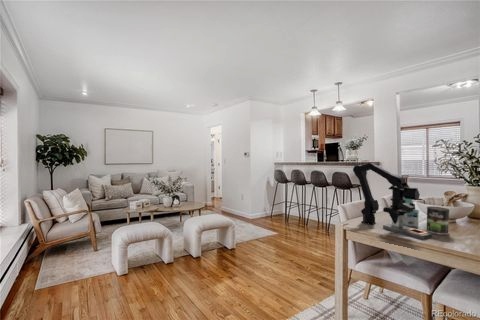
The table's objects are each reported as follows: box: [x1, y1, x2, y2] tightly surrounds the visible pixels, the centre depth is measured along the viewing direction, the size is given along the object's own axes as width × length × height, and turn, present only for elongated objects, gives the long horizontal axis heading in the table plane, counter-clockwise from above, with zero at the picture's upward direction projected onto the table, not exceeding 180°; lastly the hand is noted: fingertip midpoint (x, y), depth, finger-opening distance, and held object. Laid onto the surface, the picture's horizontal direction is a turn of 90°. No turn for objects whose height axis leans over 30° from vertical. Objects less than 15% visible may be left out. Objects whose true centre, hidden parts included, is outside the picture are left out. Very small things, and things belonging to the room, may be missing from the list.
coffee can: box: [426, 206, 450, 236], centre depth 143 cm, size 10×10×14 cm
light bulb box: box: [403, 208, 420, 228], centre depth 159 cm, size 11×7×11 cm, turn 168°
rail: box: [382, 223, 434, 241], centre depth 142 cm, size 22×10×2 cm, turn 26°
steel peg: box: [391, 215, 404, 228], centre depth 146 cm, size 4×4×8 cm
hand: (397, 223), depth 146 cm, fingers closed on steel peg, 4 cm apart
